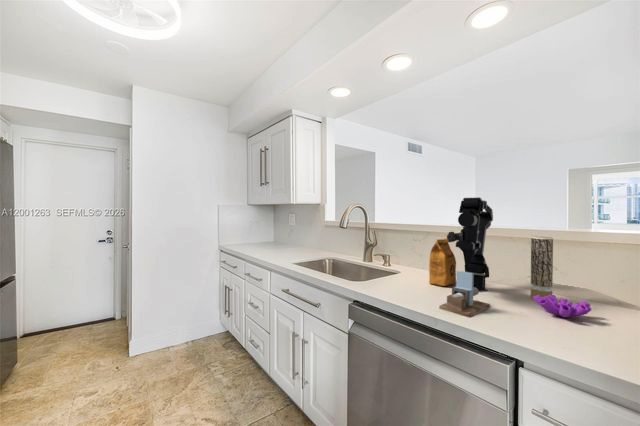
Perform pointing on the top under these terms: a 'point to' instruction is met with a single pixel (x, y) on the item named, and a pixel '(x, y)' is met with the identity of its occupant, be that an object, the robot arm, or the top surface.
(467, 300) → the dark grey block
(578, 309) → the purple coral
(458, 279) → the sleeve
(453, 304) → the pipe stand
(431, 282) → the coffee package
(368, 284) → the top surface
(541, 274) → the paper tube
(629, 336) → the top surface
